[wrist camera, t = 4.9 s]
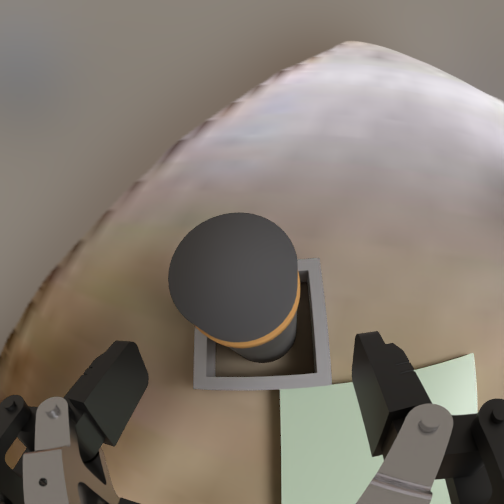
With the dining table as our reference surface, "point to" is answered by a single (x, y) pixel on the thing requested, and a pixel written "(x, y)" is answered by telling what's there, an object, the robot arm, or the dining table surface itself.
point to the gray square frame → (320, 377)
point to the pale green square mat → (353, 435)
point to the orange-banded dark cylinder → (239, 284)
